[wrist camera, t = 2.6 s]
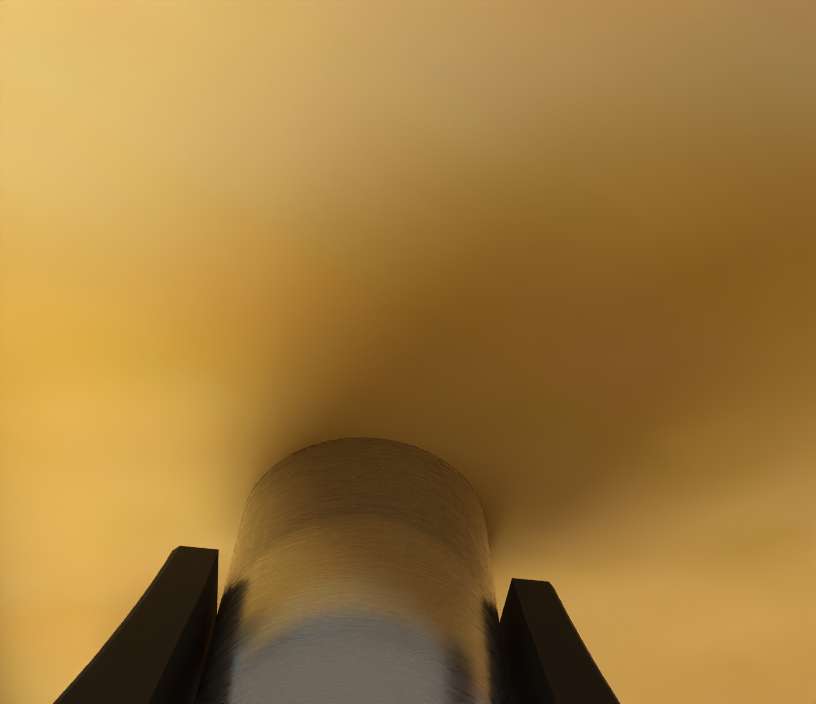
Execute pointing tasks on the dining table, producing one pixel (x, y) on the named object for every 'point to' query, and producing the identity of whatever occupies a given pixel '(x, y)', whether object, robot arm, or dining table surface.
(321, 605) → the cylinder
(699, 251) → the dining table surface
